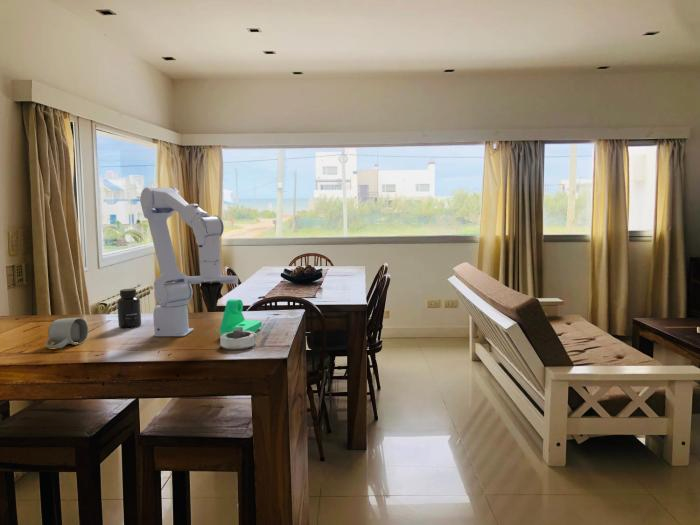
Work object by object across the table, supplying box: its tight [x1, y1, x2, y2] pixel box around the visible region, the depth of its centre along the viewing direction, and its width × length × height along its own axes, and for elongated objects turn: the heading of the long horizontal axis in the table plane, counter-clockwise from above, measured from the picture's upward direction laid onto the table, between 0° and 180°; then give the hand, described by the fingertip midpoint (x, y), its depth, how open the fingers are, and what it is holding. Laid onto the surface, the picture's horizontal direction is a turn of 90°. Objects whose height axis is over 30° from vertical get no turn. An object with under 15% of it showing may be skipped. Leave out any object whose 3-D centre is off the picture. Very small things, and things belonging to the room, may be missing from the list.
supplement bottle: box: [116, 288, 142, 330], centre depth 175 cm, size 7×7×12 cm
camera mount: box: [219, 298, 262, 335], centre depth 164 cm, size 12×8×10 cm, turn 162°
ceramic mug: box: [45, 317, 89, 349], centre depth 155 cm, size 11×8×8 cm
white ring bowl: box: [219, 331, 257, 351], centre depth 150 cm, size 9×9×3 cm
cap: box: [233, 327, 243, 338], centre depth 150 cm, size 5×5×4 cm
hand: (213, 309), depth 151 cm, fingers closed
